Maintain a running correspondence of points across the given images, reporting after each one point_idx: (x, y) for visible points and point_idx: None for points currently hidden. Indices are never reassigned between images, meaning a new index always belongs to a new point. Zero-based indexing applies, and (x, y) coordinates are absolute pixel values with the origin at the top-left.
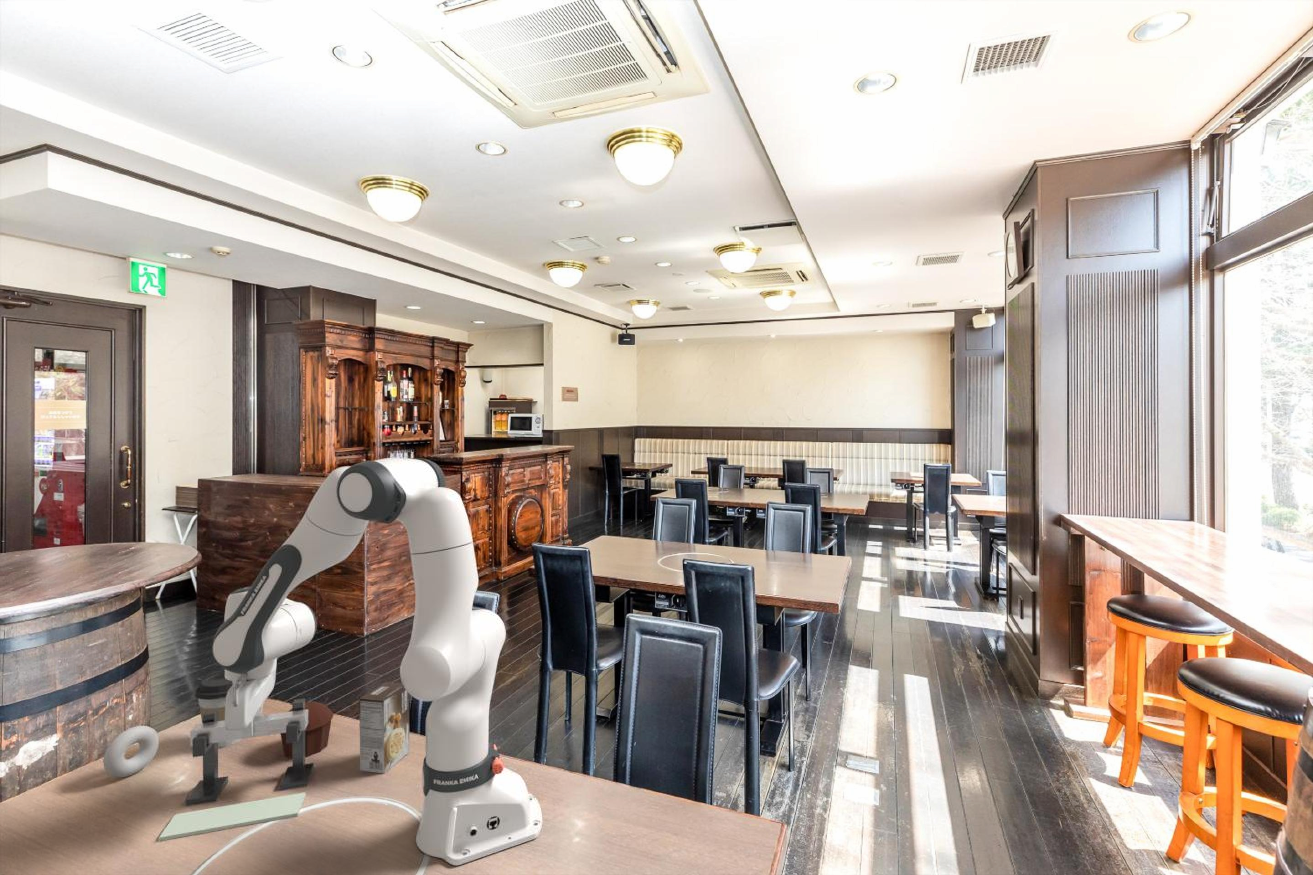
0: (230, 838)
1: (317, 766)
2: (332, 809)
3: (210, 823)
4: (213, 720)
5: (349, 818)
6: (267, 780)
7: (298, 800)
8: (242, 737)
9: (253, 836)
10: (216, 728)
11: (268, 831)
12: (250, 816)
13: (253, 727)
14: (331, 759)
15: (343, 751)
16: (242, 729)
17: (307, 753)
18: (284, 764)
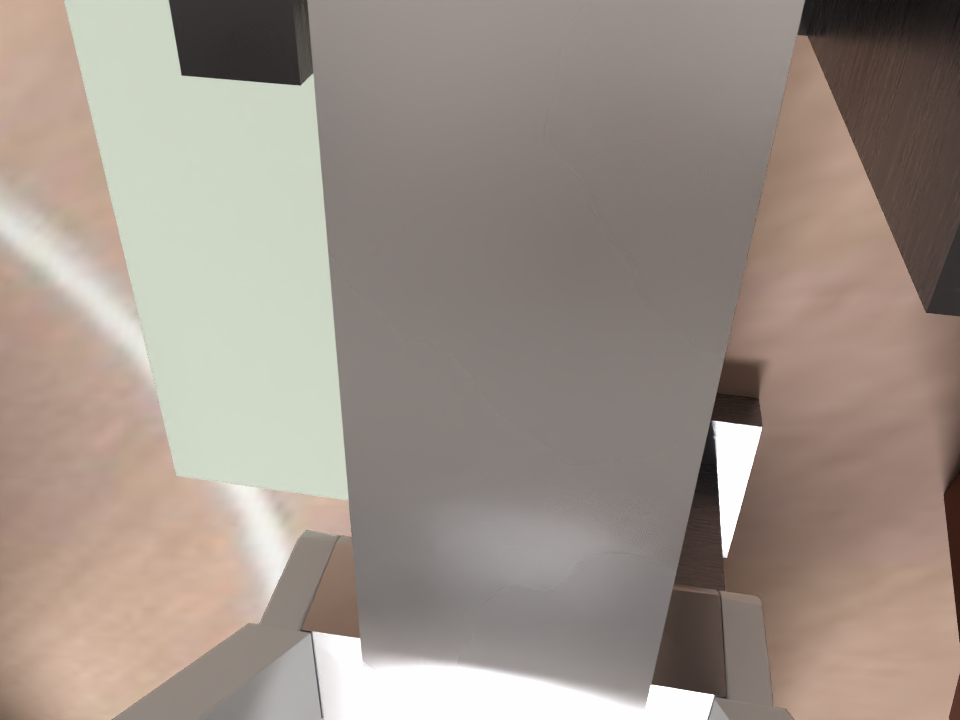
0: (7, 171)
1: (739, 542)
2: (214, 582)
3: (136, 13)
4: (881, 170)
5: (130, 626)
6: None
7: (305, 475)
8: (304, 532)
9: (21, 288)
10: (334, 313)
11: (61, 351)
12: (184, 258)
13: (341, 709)
14: (794, 604)
15: (871, 657)
16: (239, 639)
17: (947, 518)
18: (920, 370)
